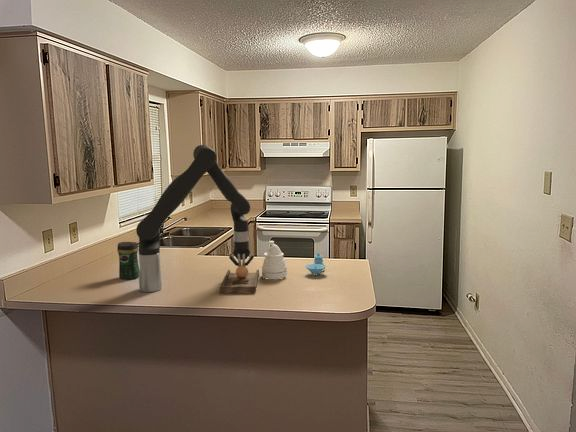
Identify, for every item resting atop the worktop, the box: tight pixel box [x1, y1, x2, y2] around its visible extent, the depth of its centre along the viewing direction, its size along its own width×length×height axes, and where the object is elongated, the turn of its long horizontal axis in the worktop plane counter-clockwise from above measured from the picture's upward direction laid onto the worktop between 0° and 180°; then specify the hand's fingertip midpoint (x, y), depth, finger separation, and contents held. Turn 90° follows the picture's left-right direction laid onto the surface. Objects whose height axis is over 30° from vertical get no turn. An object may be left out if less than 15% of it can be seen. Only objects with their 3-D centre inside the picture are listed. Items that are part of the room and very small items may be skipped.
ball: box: [235, 266, 249, 278], centre depth 216 cm, size 6×6×6 cm
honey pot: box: [261, 240, 288, 279], centre depth 222 cm, size 13×13×18 cm
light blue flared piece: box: [305, 252, 327, 275], centre depth 229 cm, size 18×10×9 cm, turn 167°
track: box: [219, 269, 260, 294], centre depth 211 cm, size 16×28×3 cm, turn 1°
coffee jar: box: [116, 241, 140, 280], centre depth 222 cm, size 10×8×19 cm
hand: (242, 273), depth 220 cm, fingers closed
